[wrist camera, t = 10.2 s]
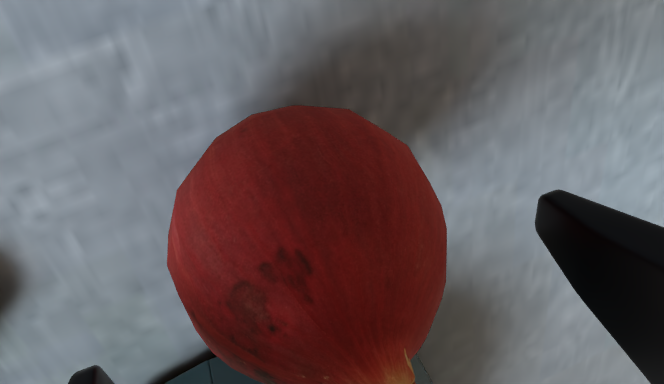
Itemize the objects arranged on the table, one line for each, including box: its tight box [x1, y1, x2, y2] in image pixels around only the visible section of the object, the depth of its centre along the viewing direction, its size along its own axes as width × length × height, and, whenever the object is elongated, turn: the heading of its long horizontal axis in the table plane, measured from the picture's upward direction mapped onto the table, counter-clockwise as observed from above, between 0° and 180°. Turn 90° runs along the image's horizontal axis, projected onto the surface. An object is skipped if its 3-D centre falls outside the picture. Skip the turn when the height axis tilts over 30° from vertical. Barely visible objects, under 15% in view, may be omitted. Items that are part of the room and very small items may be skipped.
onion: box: [167, 105, 447, 384], centre depth 11 cm, size 6×6×8 cm
